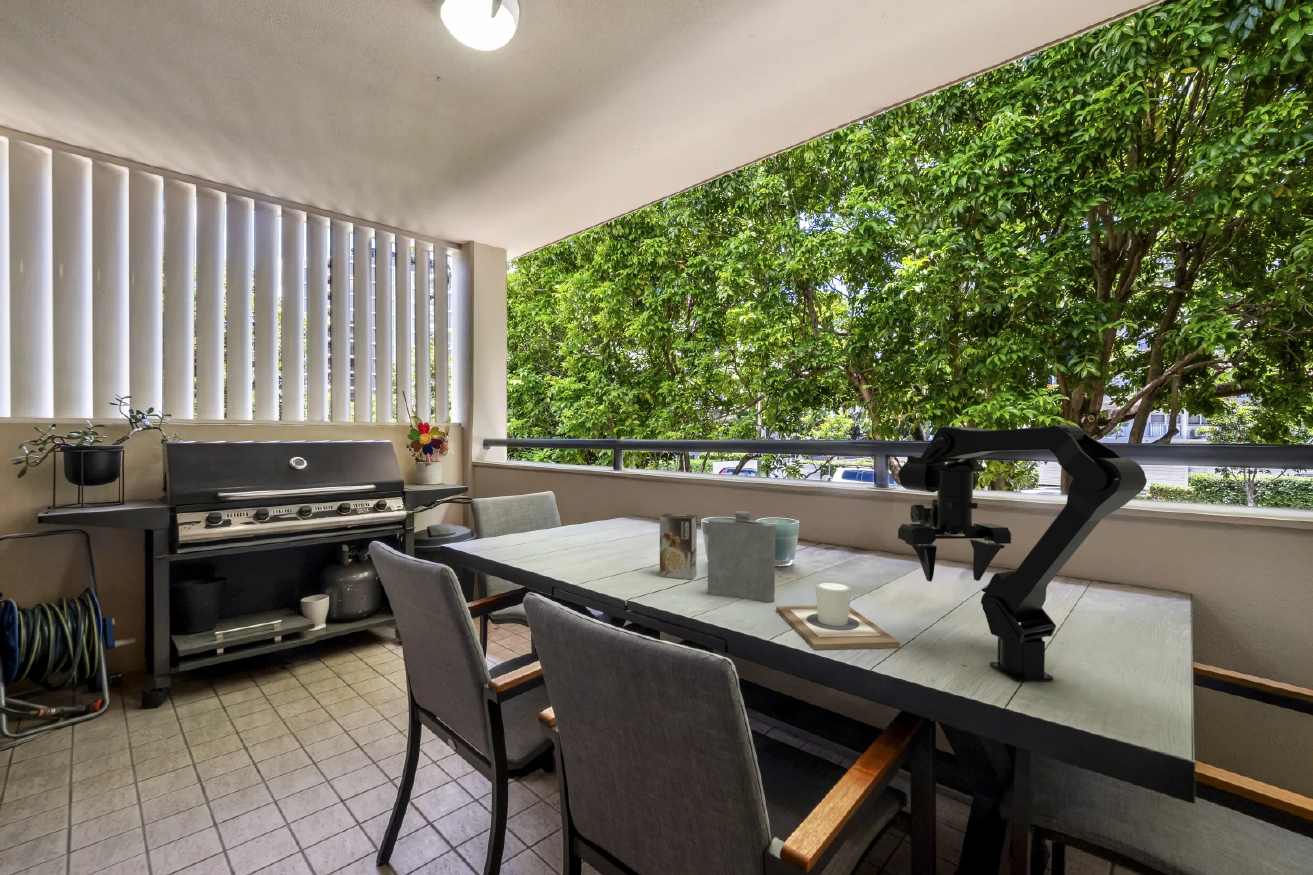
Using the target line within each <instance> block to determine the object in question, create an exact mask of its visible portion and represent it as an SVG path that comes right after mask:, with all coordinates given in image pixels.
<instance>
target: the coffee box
mask: <svg viewBox="0 0 1313 875" xmlns="http://www.w3.org/2000/svg"><path fill="white" fill-rule="evenodd" d="M697 518H698V516H697V515H694V514H678V513H677V514H676V513H664V514H662V515H661V516H659V577H660V578H671V579H672V578H673V579H674V578H675V579H686V580H693V579H694V578H695V577H696V576H697V574H698V573H697V569H698V568H697V554H698V553H697V547H698V546H697V538H698V537H697V523H698V522H697V521H698V520H697Z"/></svg>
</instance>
